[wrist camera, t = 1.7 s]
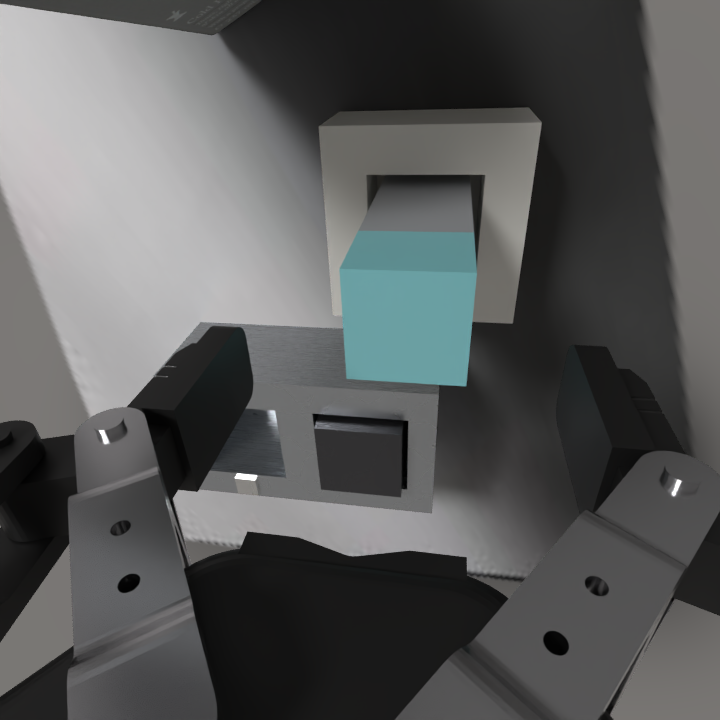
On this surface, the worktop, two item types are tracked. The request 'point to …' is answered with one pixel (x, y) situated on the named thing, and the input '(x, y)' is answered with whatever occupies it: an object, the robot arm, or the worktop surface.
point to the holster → (437, 157)
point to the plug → (411, 283)
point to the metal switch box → (325, 427)
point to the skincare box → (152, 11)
